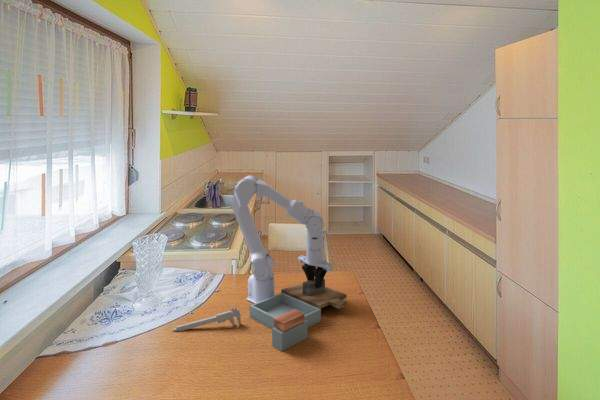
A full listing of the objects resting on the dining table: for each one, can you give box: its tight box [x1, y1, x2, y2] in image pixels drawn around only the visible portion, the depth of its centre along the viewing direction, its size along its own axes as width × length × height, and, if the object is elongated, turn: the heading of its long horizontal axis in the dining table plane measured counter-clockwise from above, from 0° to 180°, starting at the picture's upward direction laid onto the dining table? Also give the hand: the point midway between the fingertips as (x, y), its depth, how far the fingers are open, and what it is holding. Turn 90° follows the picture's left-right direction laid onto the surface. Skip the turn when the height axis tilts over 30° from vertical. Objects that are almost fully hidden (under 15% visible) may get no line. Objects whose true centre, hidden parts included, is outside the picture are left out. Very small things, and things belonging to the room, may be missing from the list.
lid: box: [280, 278, 348, 309], centre depth 136 cm, size 22×14×6 cm, turn 45°
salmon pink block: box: [274, 309, 305, 331], centre depth 112 cm, size 4×8×2 cm, turn 135°
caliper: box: [172, 305, 242, 332], centre depth 121 cm, size 20×1×6 cm, turn 100°
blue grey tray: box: [249, 292, 322, 352], centre depth 122 cm, size 22×20×5 cm
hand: (315, 285), depth 138 cm, fingers closed on lid, 3 cm apart
